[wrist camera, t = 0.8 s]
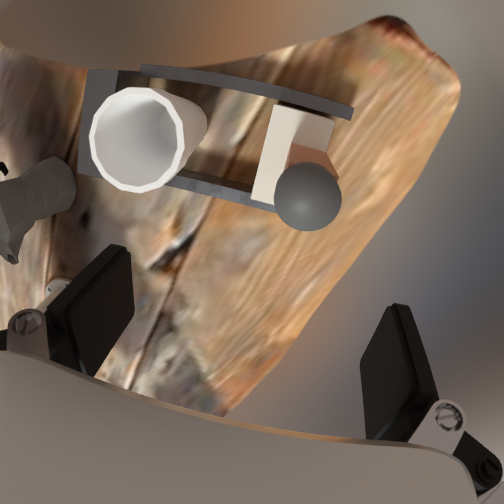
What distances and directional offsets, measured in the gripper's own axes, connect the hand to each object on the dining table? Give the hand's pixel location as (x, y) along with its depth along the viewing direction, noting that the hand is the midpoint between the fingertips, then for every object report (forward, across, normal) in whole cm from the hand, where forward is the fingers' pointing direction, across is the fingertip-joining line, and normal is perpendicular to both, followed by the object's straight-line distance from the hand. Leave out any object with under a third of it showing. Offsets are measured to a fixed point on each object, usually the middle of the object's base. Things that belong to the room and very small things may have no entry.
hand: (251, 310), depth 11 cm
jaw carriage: (+29, 0, 0) cm, 29 cm away
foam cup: (+29, +13, -1) cm, 32 cm away
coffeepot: (+28, +35, +8) cm, 45 cm away
